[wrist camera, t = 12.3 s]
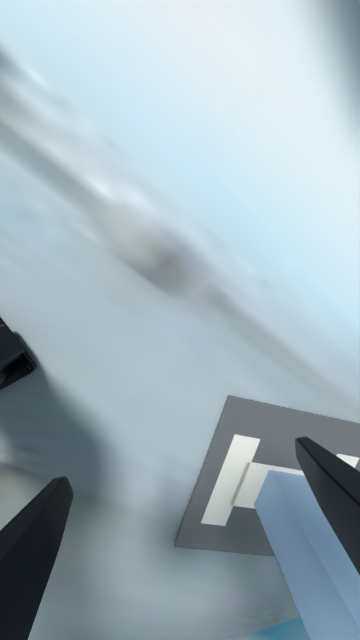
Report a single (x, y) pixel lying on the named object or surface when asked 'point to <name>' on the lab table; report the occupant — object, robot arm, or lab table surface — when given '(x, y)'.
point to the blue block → (310, 557)
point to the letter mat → (253, 471)
